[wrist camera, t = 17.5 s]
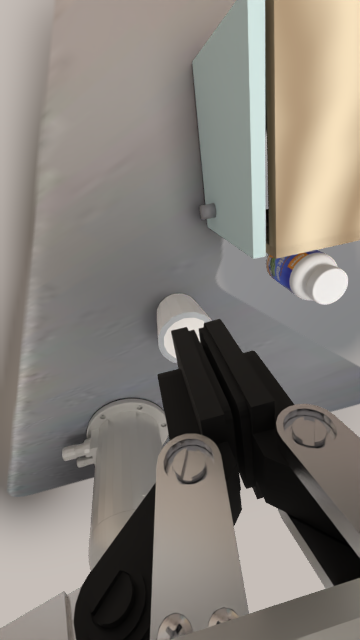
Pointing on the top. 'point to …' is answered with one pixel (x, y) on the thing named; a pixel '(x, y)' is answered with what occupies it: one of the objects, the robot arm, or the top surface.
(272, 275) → the pill bottle
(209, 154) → the door
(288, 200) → the cabinet
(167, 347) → the white cup
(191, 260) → the top surface
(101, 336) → the top surface
